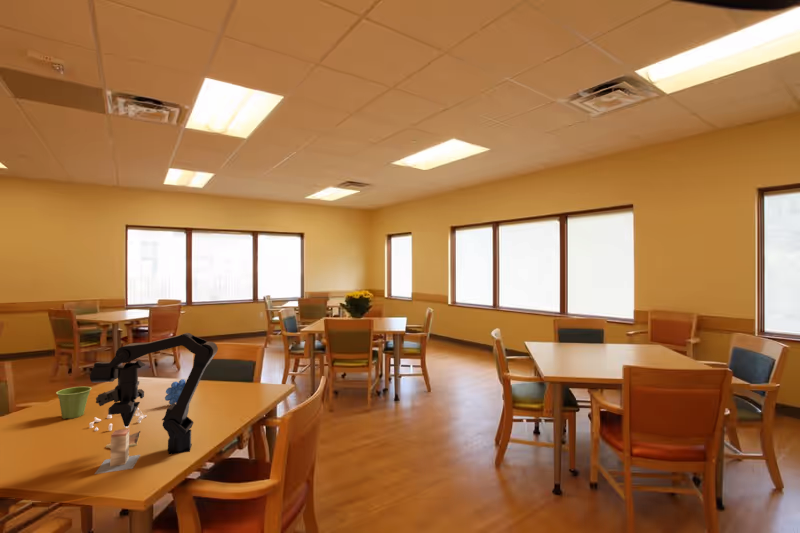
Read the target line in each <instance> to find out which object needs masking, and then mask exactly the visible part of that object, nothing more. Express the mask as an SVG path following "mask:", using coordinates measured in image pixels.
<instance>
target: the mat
mask: <svg viewBox="0 0 800 533" xmlns="http://www.w3.org/2000/svg"><path fill="white" fill-rule="evenodd" d="M140 457H141V454H136V455H129V459H128V460H127V462H126V464H123V465H116V466H110V458H107V459H104V460H103V462H102V463H101V464H100V466H99V467H98V468H97V470H96V471H95V473H94V475H98V474H106V473H111V472H118V471H126V470H131V469H134V468H135V465H136V464H137V462H138V461H139V458H140Z"/></svg>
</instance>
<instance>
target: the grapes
mask: <svg viewBox="0 0 800 533" xmlns="http://www.w3.org/2000/svg"><path fill="white" fill-rule="evenodd" d="M186 381H187V380H186V379H185V378H184V379H183V378H182V379H180V380H179V381H173V382H172V383H171V384H170V387H168V388H166V390H165V394H166V395H165V397H164V400H165V401H168V404H169V405H170V406H171V405H172V404H173V403H174V404H176V403H177V401H178V398H179V396H180V394H181V392H182V390H183V388H184V385H185V383H186Z"/></svg>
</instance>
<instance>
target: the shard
mask: <svg viewBox="0 0 800 533" xmlns="http://www.w3.org/2000/svg"><path fill="white" fill-rule="evenodd" d="M140 434H141V430H139V431H137V432H134V433H132V434H129V448H132V447H137V446H138V444H139V440H140V437H141V435H140ZM105 448H106V449H107V448H108V449H111V442H109V443H107V444H106V445H105Z"/></svg>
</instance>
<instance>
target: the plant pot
mask: <svg viewBox="0 0 800 533" xmlns="http://www.w3.org/2000/svg"><path fill="white" fill-rule="evenodd" d="M92 389H93V388H92V387H91V386H74V387H68V388H63V389H61V390H58V391H56V392H55V394H56V395H57V397H58V401H59V405H60V406H59V407H60V411H61V412H60V413H61V418H62V419H65V420H66V419H76V418H79V417H81V416H83V415H85V410H86V406H87V402H88V398H89V395H90V392H91V390H92Z"/></svg>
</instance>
